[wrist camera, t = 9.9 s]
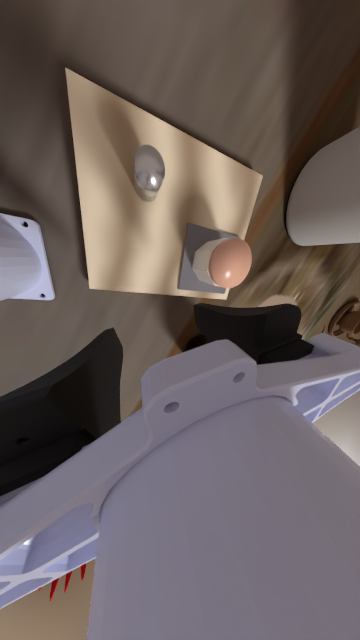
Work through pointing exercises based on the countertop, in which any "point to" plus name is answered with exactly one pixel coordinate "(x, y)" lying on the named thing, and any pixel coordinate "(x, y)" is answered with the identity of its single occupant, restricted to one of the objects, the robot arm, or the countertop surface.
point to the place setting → (346, 322)
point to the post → (148, 172)
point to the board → (137, 215)
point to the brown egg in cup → (223, 262)
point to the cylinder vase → (328, 196)
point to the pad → (193, 242)
